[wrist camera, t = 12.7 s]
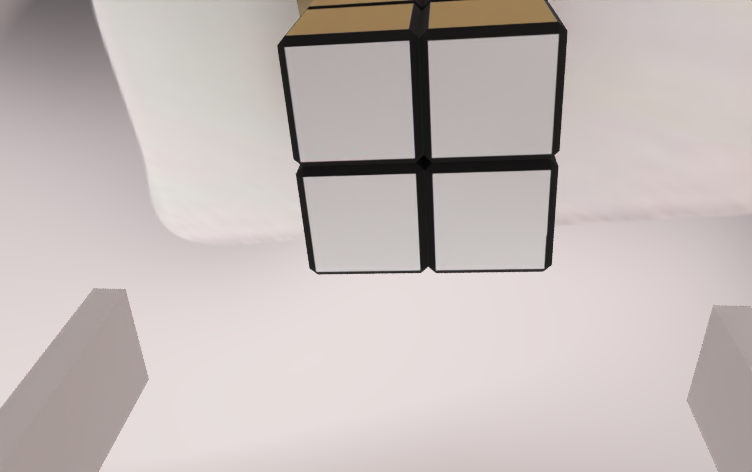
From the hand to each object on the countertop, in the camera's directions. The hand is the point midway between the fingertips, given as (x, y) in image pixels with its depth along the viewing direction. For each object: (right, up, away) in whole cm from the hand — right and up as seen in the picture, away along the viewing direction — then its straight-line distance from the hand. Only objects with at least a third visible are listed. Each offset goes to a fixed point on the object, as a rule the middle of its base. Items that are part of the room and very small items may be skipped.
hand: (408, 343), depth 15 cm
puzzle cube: (+2, +10, +19) cm, 21 cm away
